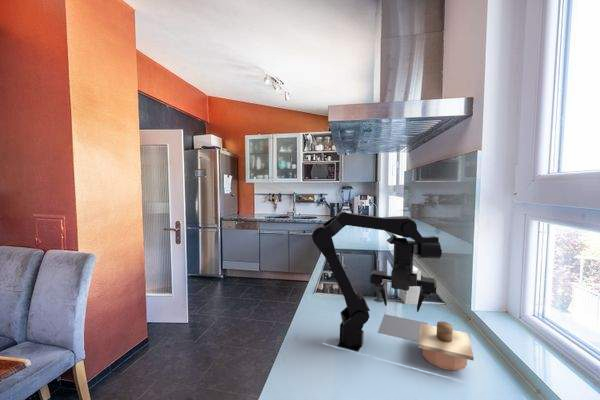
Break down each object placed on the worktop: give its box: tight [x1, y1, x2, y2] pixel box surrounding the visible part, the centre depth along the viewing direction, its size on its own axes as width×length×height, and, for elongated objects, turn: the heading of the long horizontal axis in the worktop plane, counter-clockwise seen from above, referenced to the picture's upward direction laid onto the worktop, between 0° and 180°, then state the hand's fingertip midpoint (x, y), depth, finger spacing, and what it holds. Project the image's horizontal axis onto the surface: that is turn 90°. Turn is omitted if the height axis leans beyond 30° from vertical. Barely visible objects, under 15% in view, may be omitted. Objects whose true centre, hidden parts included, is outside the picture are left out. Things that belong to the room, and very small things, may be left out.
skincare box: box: [398, 265, 422, 306], centre depth 121 cm, size 8×6×15 cm
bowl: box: [422, 348, 468, 371], centre depth 81 cm, size 11×11×5 cm
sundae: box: [372, 268, 384, 303], centre depth 120 cm, size 7×7×15 cm
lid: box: [418, 321, 475, 361], centre depth 80 cm, size 13×13×5 cm
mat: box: [377, 313, 429, 343], centre depth 97 cm, size 15×15×1 cm
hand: (401, 308), depth 86 cm, fingers open, 9 cm apart
